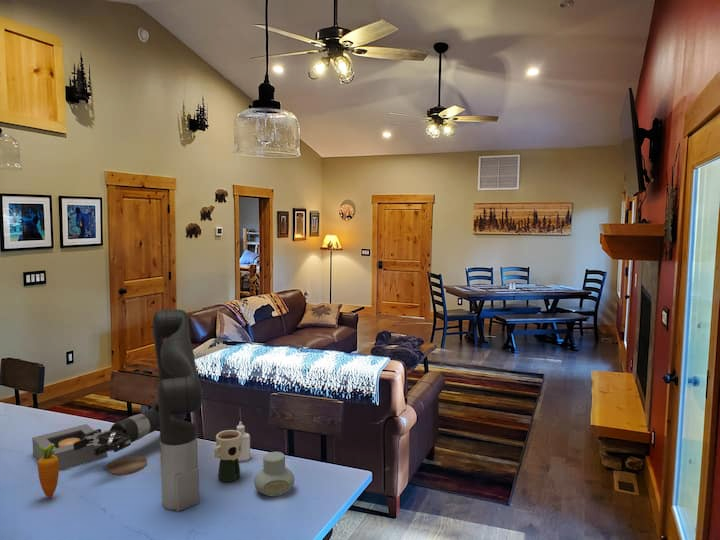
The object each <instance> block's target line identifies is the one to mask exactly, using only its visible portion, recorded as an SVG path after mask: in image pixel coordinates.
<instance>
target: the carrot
mask: <svg viewBox="0 0 720 540" xmlns="http://www.w3.org/2000/svg"><path fill="white" fill-rule="evenodd" d="M54 446H55V445H54V444H49V445H48V448H47V447H45V448H44V449H43V447H42V446H41V445H40V446H39V448H40V450H41V451H42V453H43V455H44V457H42V458H41V459H39V460H37V473H38V479H39V484H40V486H41V489H42V492H43V493H44V495H45V496H46V498H48V499H52V497H53V496H54V494H55V491H56V489H57V486H58V482H59V481H58V480H59V473H60V471H59V461H58V458H57V456H55V455H52V454H53V453H54V452H55V450H53V448H54ZM52 450H53V451H52ZM51 451H52V452H51Z"/></svg>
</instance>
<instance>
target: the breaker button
mask: <svg viewBox="0 0 720 540" xmlns="http://www.w3.org/2000/svg"><path fill="white" fill-rule="evenodd" d="M77 441H80V439H79V438H68V439H64V440H62V441H60V442H59V443H58V448H59V447H63V446H67V445H70V444H74V443H75V442H77Z"/></svg>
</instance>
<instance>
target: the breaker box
mask: <svg viewBox="0 0 720 540" xmlns="http://www.w3.org/2000/svg"><path fill="white" fill-rule="evenodd" d="M95 430H96V429H93V428H92V427H91V426H90V425H89V424H87V423H86V424H82V425H78V426H72V427H69V428H66V429H61V430H57V431H53V432H49V433H45V434H41V435H36V436H33V437H32V439H31V441H32V455H33V456H34V457H35V459H36V460H37V461H38V460H39V459H41V458H42V457H44V455H43V453H42V451H41V450H40V448H39V446H40V445H41V446H42V447H43V449H44V448H45V447H47V448H48V445H49V444H54V445H55V446H54V448H53V450H55V452H54V453H53V454H52V455H55V456H57V458H58V461H59V472H60V470H62V471H64V470H63V469H65V470H67V468H68V469H72V468H74V466H75V467H78V466H82V465H84V463H85V464H87V462H88V463H92V462H95V461H99V460H101V459H105V458H108V452H105V453H103V454H101V455H98V456H95V455H94V449H95V448H96V447H99V446H101V445H98V446H94V445H88V446H86V447H83V448H81V449H79V450H74V448H73V444H70V445H67V446H63V447H59V448H58V443H59V442H60V441H62V440H64V439H68V438H79V439H80V440H82V435H84V434H87V433H89V432H92V431H95ZM93 441H94V440H93ZM93 441H91V442H93ZM96 442H99V439H96ZM53 450H52V451H53ZM52 451H51V452H52ZM91 461H92V462H91ZM81 464H82V465H81ZM77 465H78V466H77ZM71 467H72V468H71Z"/></svg>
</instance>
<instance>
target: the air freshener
mask: <svg viewBox="0 0 720 540" xmlns="http://www.w3.org/2000/svg"><path fill="white" fill-rule="evenodd" d="M262 459H263V463H262V464H263V468H262V469H261V470H260V471H258V473H256V474H255V477H254V481H253V484H254V487H255V488H256V490H257V491H258V492H259V493H261V494H263V495H265V496H269V497H270V496H271V497H279V496H281V495H283V494H285V493H288V492H289V491H290V490H291V489H292V488H293V485H294V484H295V474H294V473H293V471H292V470H291V469H289V468H288V467H286V455H285V454H284V453H283V452H281V451H270V452H267V453H266V454H265V455H264V456H263V458H262Z"/></svg>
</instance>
